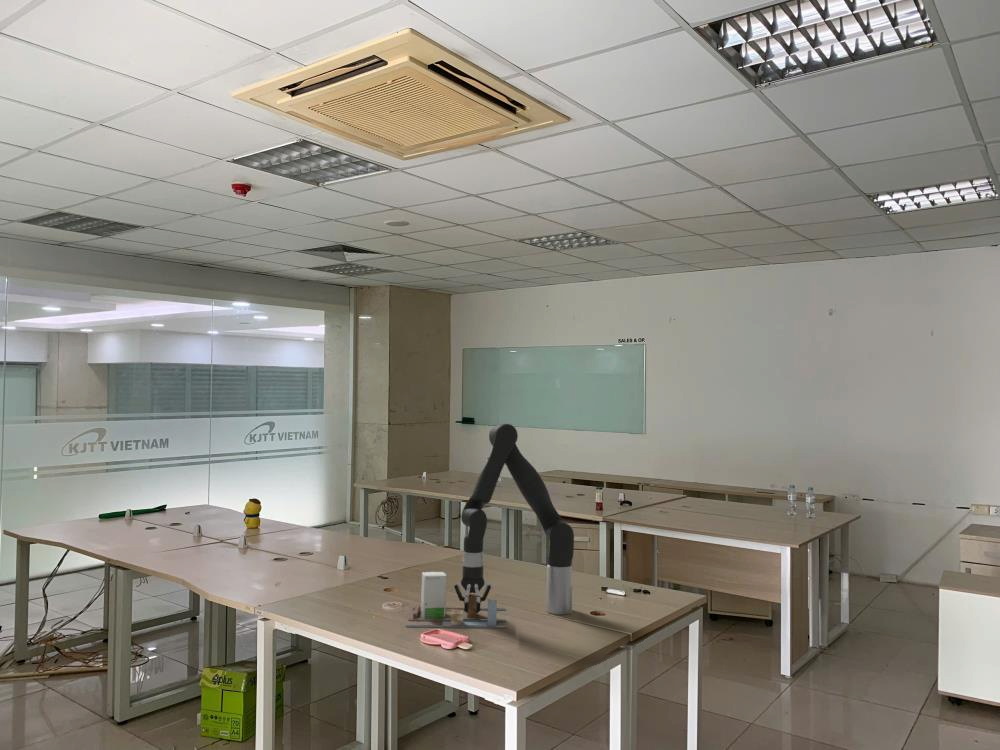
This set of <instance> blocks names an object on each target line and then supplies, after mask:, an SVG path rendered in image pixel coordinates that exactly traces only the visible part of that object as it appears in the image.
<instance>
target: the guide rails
mask: <svg viewBox="0 0 1000 750" xmlns="http://www.w3.org/2000/svg"><path fill="white" fill-rule="evenodd" d="M415 607H416V606H412V610H415ZM420 609H421V606H420ZM445 609H461V610H464V607H451V606H449V607H447V606H446V607H445ZM480 611H488V607H480ZM497 611H506V608H505V607H497ZM407 621H408V622H443V621H451V619H425V618H423V617H417V618H413V617H411V618H410V617H409V618H408V620H407ZM463 622H488V618H475V619H463ZM506 622H507V619H506V618H503V619H501V618H500V619H498V618H496V623H506ZM507 627H508V626H507V625H496V626H481V625H442V624H406V625H405V628H432V629H433V628H435V629H436V628H440V629H441V628H442V629H444V628H447V629H448V628H449V629H452V628H453V629H507Z"/></svg>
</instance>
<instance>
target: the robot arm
mask: <svg viewBox="0 0 1000 750" xmlns="http://www.w3.org/2000/svg"><path fill="white" fill-rule="evenodd" d="M518 436H519V433H518V430H517V429H516V428H515V426H513V425H512V424H510V423H502V424H498V425H497V424H496V425H495V426H493V427H492V428H491V429H490V430H489V435H488V440H489V442H490V445H491V446H492V450H491V453H490V455H489V457H488V460H487V461H486V464H485V465H484V467H483V469H482V470H481V472H480V474H479V476H478V478H477V481H476V483H475V486H474V490H473V492H472V494H471V496H470V497H469V498H468V500H467V502H466V503H465V505H464V506H463V508H462V511H461V516H460V518H461V519H460V520H461V522H462V524H463V525H464V526H466V527H469V529H468V534H466V535H464V537H463V553H462V560H461V561H462V571H461V572H462V577H461V578H462V579H461V580H460V582H458V583H454V586H453V587H454V590H455V593H456V594H457V597H458V600H459V601H460V602H463V603H464V606H463V608H464V611H463V612H465V614H468V596H469V594H476V596H477V610H476V613H477V614H479V612H481V610H480V608H481V603H482V602H485V601H486V599H487V597H488V595H489V593H490V591H491V589H492V584H491V583H487V582H485V580H484V566H485V565H484V563H485V562H484V561H485V560H484V538H485V534H486V530H487V525H488V517H487V514H486V512H485V511H484V510H483V509H484V506H485V505H487V504H489V503H490V502H491V500H492V497H493V495H494V492H495V489H496V486H497V483H498V480H499V478H500V476H501V473H502V470H503V468H504V466H506V467H507V470H508V472H509V474H510V475H511V478H512V480H513V481H514V482H515V484H516V486H517V488H518V490H519V492H520V493H521V495H522V497H523V498H524V499H525V501H526V502H527V504H528V506H529V507H530V508H531V509H532V511H533V512H534V514H535V515H536V517H537V519H538V520H539V523H540V525H541V527H542V530H543V531H544V534H545V536H546V539H547V540H548V541H549V545H548V546H549V547H548V548H549V551H548V556H547V558H546V559H547V560H546V610H545V611H546V612H547V613H549V614H550V615H551V614H552V615H569V614H573V586H572V584H573V583H572V580H573V579H572V575H573V572H572V571H573V568H572V567H573V559H574V549H575V534H574V530H573V528H572V526H571V525H570V524H568V523H567V522H565V521H564V519H563V518H562V517H561V515H560V514H559V512H558V511H557V509H556V508H555V506H554V505H553V501H552V500H551V496H550V494H549V491H548V488H547V487H546V483H545V482H544V481H543V479H542V477H541V475H540V474H539V472H538V471H537V469H536V468H535V467H534V466H533V465H532V464H531V462H530V461H529V460H528V459H526V457H525V456H523V453H521V451H520V449H519V447H518V446H517V441H518ZM462 587H463V589H464V590H465V595H464V596H463V594H462V591H461V589H462ZM483 588H484V593H483V595H482V596H481V593H480V591H481V590H482V589H483Z"/></svg>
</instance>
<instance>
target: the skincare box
mask: <svg viewBox="0 0 1000 750" xmlns="http://www.w3.org/2000/svg"><path fill="white" fill-rule="evenodd" d="M447 576H448V575H447V574H446V573H445V572H444V571H426V572H425V571H423V572H421V589H420V590H421V595H420V607H421V611H419V613H420V616H421V618H446V611H445V607H447V605H446V604H447V603H446V601H447V599H446V598H447V580H448V579H447Z"/></svg>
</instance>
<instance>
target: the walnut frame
mask: <svg viewBox="0 0 1000 750" xmlns="http://www.w3.org/2000/svg"><path fill="white" fill-rule="evenodd" d="M414 607H415V609H413V613H412V618H419V617H418V616H419V613H420V612H421V609H420V607H421V603H416V605H415V606H414ZM452 610H461V609H445V612H451V611H452ZM476 610H477V596H476V593H469V596H468V613H467V617H468V618H464V617H463V619H476V617H477V614H478V613H476ZM463 612H465V611H464V610H463ZM425 619H451V617H448V618H447V617H434V618H425Z"/></svg>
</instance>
